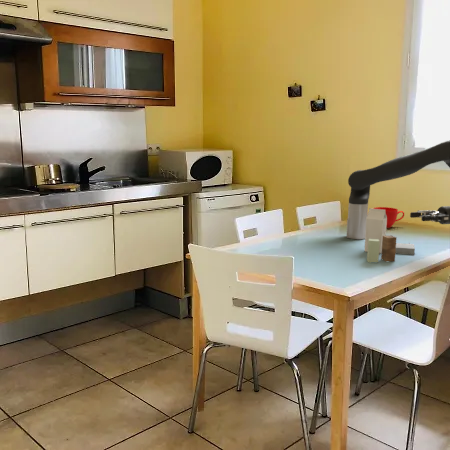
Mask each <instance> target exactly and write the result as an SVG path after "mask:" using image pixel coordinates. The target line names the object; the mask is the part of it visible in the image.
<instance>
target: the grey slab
mask: <svg viewBox="0 0 450 450" xmlns="http://www.w3.org/2000/svg"><path fill="white" fill-rule="evenodd" d="M415 249H416V248H415V244H414V243H400V242H396V252H395V254H402V255H411V256H412V255H413V256H414V255H415Z"/></svg>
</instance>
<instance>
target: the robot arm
mask: <svg viewBox="0 0 450 450" xmlns="http://www.w3.org/2000/svg"><path fill="white" fill-rule="evenodd" d="M440 162H444V163H445V165H447V166H448V167H449V169H450V140H445V141H443V142H440V143H438V144H435V145H433V146H430V147H429V148H426V149H423V150H419V151H416V152H412V153H409V154H406V155H403V156H399V157H396V158H393V159H391V160H390V159H389V160H388V161H386V162H383V163H381V164H379V165H377V166H375V167H371V168H367V169H360V170H359V169H358V170H355V171H353V172H351V173H350V175H349V177H348V180H347V183H348V185H349V187H350V194H349V198H348V207H347V208H348V212H347V213H348V214H347V219H346V220H347V221H346V238H347V239H352V240H365V234H366V218H367V215H368V212H369V199H370V194H371V193H370V192H371V186H372V185H375V184H378V183H381V182H386V181H391V180H396V179H400V178H404V177H407V176H410V175H413V174H415V173H417V172H419V171H421V170H422V169H423V168H426V167H427V166H429V165H431V164H435V163H440ZM409 217H410V218H415V219H416V218H421V222H435V223H439V224H441V225H450V205H446V206H445V205H444V206H440V207H438V209H437V210H431V209H429V210H427V209H426V210H424V209H423V210H417V211H413V212H412V211H411V212H410V214H409Z"/></svg>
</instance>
